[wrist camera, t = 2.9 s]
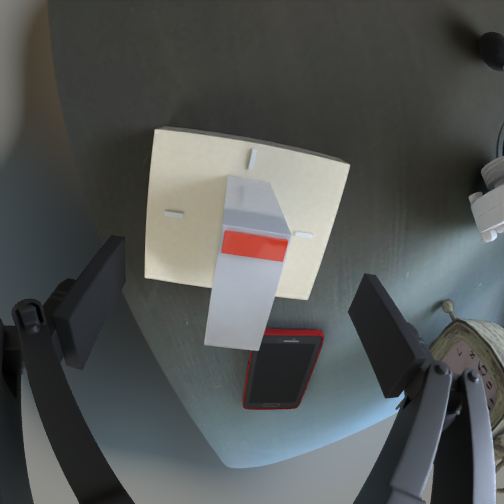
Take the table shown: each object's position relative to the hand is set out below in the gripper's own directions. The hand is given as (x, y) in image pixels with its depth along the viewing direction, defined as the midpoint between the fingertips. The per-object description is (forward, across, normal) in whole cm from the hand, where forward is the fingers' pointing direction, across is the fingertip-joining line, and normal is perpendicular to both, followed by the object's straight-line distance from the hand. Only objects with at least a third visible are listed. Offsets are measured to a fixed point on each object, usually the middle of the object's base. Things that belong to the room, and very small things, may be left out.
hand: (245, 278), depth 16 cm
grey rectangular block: (+7, 0, 0) cm, 7 cm away
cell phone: (+10, +8, -19) cm, 23 cm away
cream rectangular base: (+10, 0, 0) cm, 10 cm away
